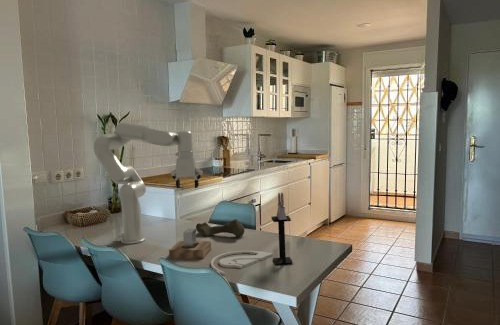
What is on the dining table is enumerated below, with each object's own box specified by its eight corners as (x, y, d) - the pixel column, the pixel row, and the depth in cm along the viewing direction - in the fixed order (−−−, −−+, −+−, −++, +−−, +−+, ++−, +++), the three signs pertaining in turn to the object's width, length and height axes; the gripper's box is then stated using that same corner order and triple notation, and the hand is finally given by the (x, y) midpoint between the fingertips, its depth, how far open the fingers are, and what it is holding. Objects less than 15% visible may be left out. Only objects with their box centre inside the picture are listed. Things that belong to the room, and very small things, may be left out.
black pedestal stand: (272, 258, 173) (269, 191, 171) (289, 257, 174) (286, 190, 172) (275, 266, 163) (273, 195, 161) (293, 265, 164) (291, 194, 161)
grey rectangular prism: (184, 253, 183) (183, 232, 182) (189, 249, 190) (187, 228, 189) (192, 253, 182) (191, 232, 181) (197, 249, 189) (195, 228, 188)
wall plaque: (273, 253, 177) (223, 272, 156) (273, 257, 177) (223, 276, 156) (244, 246, 190) (194, 263, 169) (244, 249, 190) (194, 266, 169)
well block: (169, 258, 180) (168, 249, 180) (179, 249, 194) (179, 241, 193) (203, 258, 177) (202, 250, 177) (211, 249, 191) (210, 241, 191)
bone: (192, 223, 219) (235, 220, 203) (204, 221, 228) (246, 217, 211) (194, 241, 219) (237, 239, 202) (206, 238, 227) (249, 235, 211)
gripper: (167, 156, 201) (169, 189, 203) (199, 155, 198) (201, 188, 200) (172, 155, 209) (174, 187, 210) (203, 154, 206) (205, 186, 207)
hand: (187, 187), depth 205 cm, fingers open, 9 cm apart
